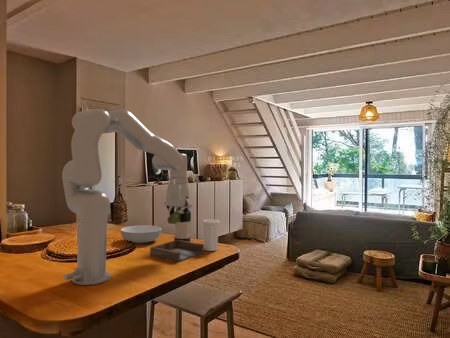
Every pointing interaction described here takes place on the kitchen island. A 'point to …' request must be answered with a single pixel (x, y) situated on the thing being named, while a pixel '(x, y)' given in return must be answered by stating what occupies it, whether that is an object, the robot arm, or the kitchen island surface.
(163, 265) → the kitchen island surface
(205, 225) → the cup
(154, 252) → the tray
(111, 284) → the kitchen island surface
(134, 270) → the kitchen island surface
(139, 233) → the serving bowl
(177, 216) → the pear
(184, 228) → the wine bottle
